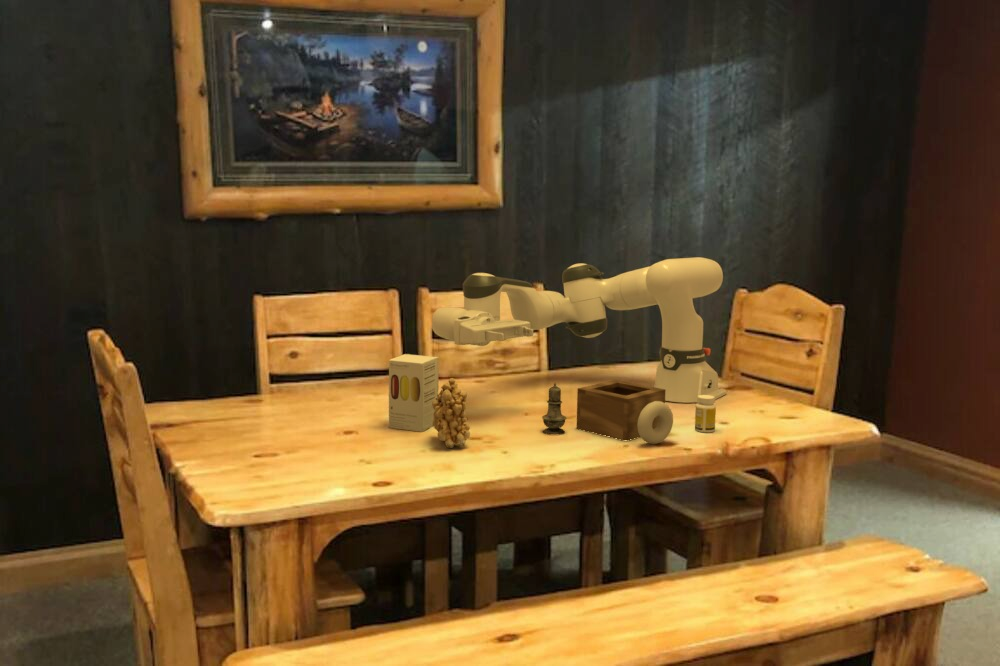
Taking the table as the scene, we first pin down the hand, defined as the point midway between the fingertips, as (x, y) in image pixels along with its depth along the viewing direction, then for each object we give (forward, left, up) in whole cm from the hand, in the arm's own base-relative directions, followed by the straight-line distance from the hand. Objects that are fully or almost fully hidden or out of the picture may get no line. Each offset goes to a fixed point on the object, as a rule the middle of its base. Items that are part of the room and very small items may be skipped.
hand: (518, 335), depth 225 cm
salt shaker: (0, +12, -22) cm, 25 cm away
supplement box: (+21, -15, -22) cm, 34 cm away
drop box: (-13, +22, -22) cm, 34 cm away
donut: (-9, +35, -22) cm, 42 cm away
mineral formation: (+25, +2, -22) cm, 33 cm away
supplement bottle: (-28, +36, -22) cm, 51 cm away
